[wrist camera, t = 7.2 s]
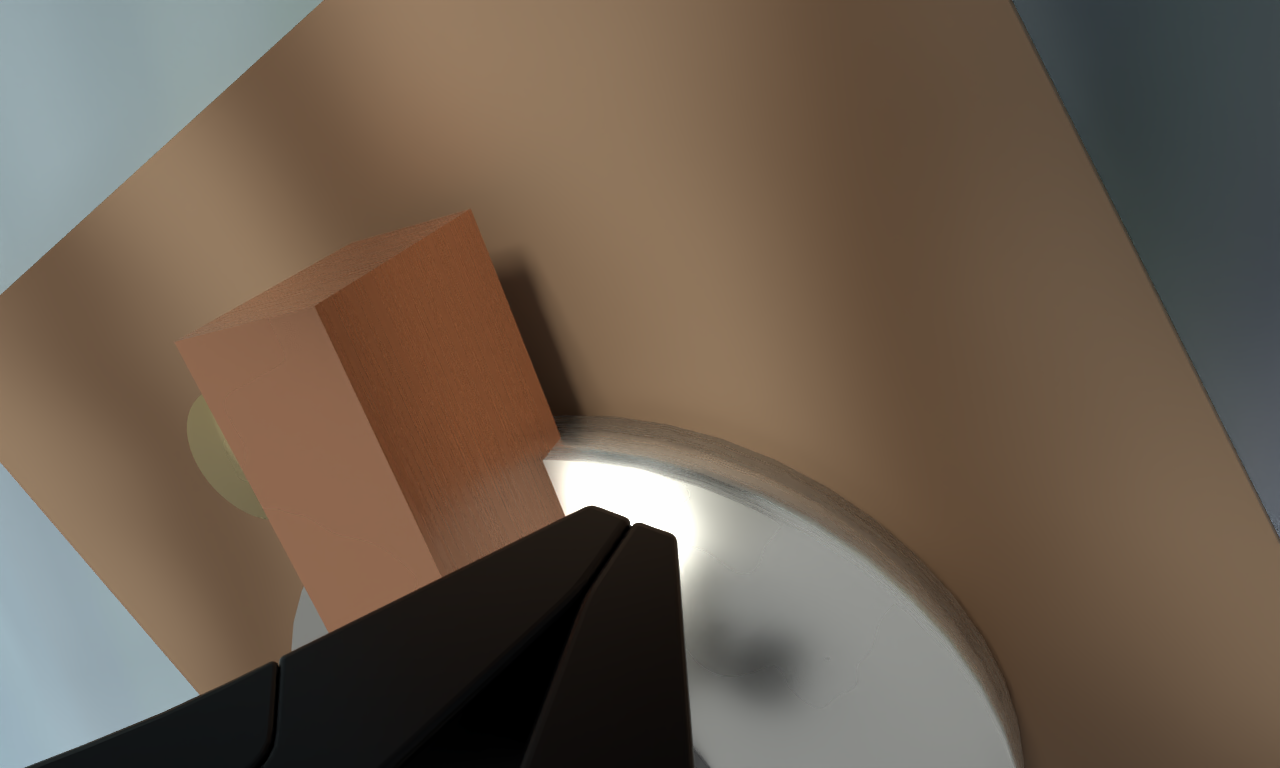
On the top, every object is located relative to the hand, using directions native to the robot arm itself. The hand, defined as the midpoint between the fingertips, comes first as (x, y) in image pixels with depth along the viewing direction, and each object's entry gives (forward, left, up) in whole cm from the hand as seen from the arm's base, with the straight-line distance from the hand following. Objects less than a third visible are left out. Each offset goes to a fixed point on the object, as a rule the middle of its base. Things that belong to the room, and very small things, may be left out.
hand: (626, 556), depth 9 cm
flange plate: (+4, +3, -4) cm, 6 cm away
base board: (+4, +5, -5) cm, 8 cm away
